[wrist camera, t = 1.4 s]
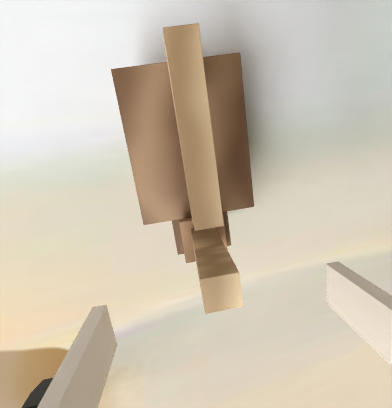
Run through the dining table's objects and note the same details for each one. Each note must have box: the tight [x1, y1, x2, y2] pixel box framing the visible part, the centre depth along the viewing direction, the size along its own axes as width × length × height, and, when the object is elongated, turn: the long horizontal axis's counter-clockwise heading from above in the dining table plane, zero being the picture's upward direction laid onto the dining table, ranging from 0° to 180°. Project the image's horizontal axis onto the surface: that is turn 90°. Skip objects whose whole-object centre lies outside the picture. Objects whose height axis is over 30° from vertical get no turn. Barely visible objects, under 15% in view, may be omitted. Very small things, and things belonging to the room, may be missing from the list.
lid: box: [111, 23, 254, 255], centre depth 19 cm, size 12×19×10 cm, turn 8°
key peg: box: [179, 214, 243, 314], centre depth 22 cm, size 4×4×16 cm
